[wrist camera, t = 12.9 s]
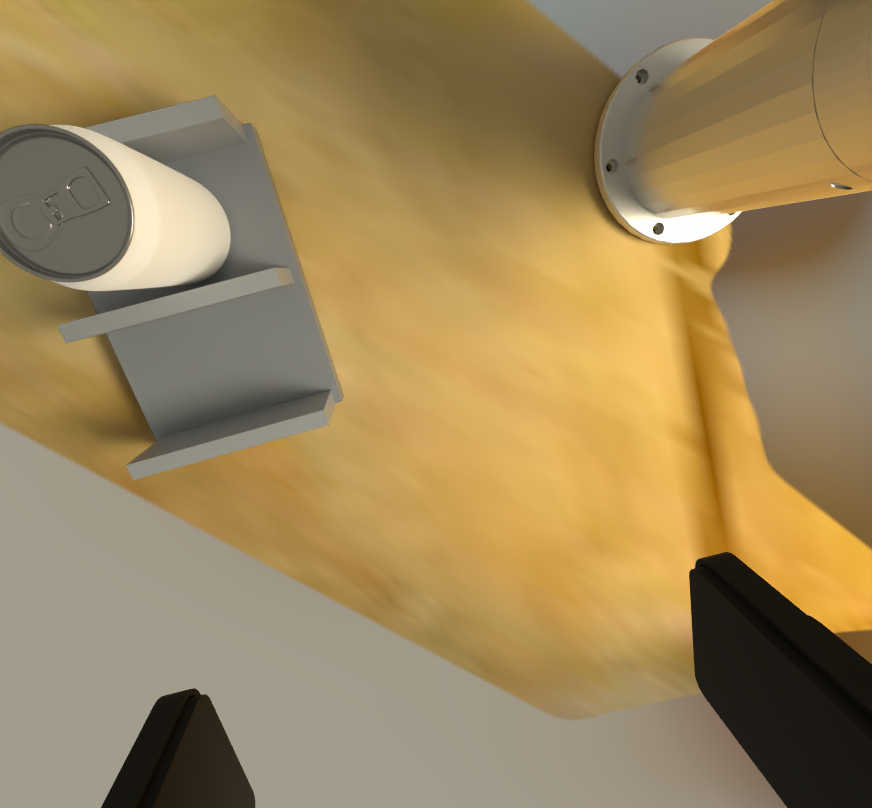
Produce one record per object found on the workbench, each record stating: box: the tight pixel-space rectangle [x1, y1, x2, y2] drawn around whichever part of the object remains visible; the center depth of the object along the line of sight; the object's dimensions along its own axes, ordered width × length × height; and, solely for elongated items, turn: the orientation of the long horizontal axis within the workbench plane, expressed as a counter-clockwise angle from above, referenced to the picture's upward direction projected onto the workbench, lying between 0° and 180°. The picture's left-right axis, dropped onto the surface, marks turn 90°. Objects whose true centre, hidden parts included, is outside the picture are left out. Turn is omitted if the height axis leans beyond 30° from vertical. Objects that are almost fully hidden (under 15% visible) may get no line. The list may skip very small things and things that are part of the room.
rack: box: [57, 96, 344, 480], centre depth 29 cm, size 13×18×6 cm
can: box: [0, 124, 231, 291], centre depth 24 cm, size 6×6×12 cm
